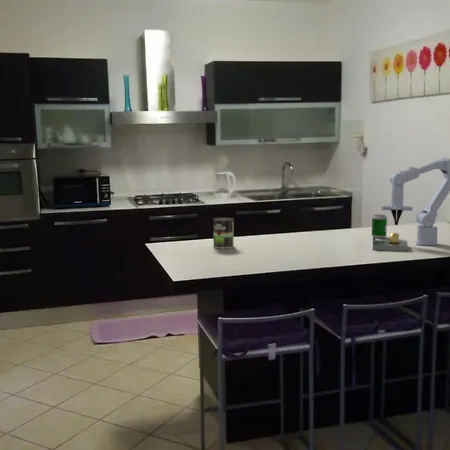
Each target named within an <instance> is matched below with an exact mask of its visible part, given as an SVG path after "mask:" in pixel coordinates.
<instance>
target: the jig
mask: <svg viewBox="0 0 450 450" xmlns="http://www.w3.org/2000/svg"><path fill="white" fill-rule="evenodd" d="M408 250H409V245H408V241H405V240H399V243H398V244H390V240H381V239H380V240H378V239H376V238H375V237H373V236H372V251H383V252H384V251H385V252H386V251H389V252H390V251H391V252H408Z"/></svg>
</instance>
